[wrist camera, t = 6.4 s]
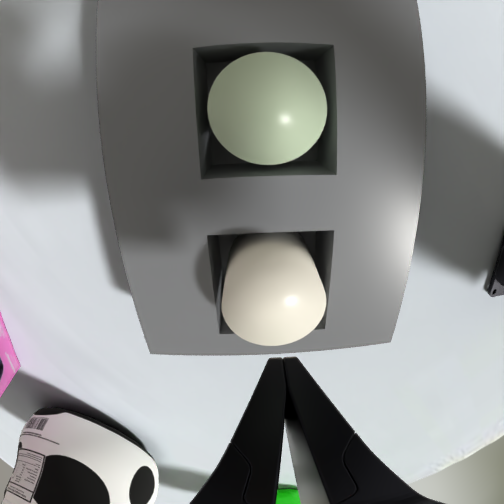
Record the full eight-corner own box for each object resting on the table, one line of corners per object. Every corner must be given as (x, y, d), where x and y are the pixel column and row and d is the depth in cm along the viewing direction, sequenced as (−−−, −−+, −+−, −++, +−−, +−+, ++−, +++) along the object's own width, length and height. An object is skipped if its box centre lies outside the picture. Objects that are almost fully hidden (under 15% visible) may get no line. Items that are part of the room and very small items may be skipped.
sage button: (305, 69, 12) (324, 53, 9) (307, 151, 14) (327, 164, 10) (217, 71, 12) (204, 55, 9) (221, 154, 14) (211, 168, 11)
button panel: (367, -58, 8) (392, -87, 5) (369, 301, 18) (390, 342, 15) (135, -52, 9) (109, -81, 5) (166, 311, 19) (150, 353, 15)
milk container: (144, 477, 33) (127, 574, 17) (39, 428, 29) (2, 521, 13) (184, 441, 27) (165, 591, 10) (35, 370, 23) (-32, 507, 6)
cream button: (311, 221, 15) (330, 258, 11) (307, 293, 16) (321, 342, 13) (224, 224, 15) (216, 263, 11) (231, 297, 16) (226, 347, 13)
